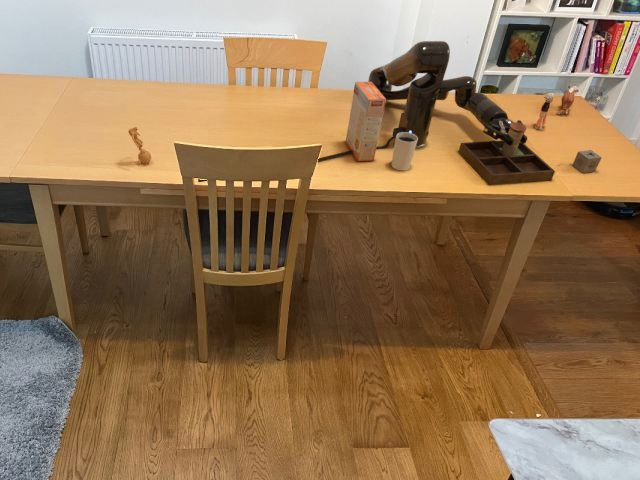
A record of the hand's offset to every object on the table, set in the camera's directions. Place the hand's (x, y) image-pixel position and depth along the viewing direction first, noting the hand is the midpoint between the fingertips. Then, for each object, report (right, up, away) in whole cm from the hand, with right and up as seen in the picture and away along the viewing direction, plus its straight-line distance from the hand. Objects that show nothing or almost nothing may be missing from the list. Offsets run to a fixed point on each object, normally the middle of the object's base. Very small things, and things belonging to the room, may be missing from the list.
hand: (518, 142), depth 187 cm
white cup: (-38, -8, 0) cm, 39 cm away
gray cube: (+23, -8, +4) cm, 24 cm away
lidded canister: (-1, -2, +6) cm, 7 cm away
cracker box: (-50, -2, +6) cm, 50 cm away
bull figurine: (+34, +21, +38) cm, 55 cm away
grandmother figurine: (+19, +12, +26) cm, 34 cm away
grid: (-4, -7, +3) cm, 8 cm away
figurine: (-120, -8, -5) cm, 120 cm away
